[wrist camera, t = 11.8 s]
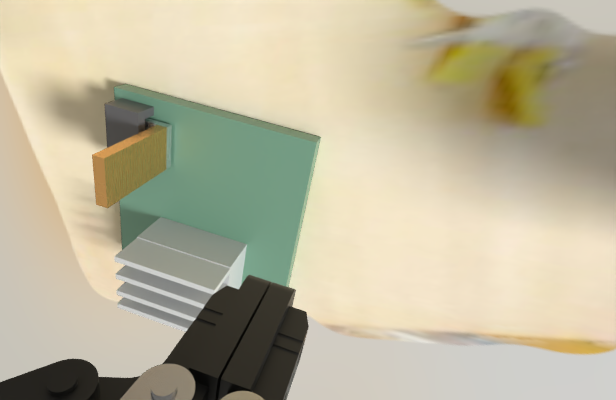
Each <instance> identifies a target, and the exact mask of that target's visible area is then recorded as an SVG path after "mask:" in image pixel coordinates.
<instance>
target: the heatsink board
mask: <svg viewBox="0 0 616 400" xmlns="http://www.w3.org/2000/svg"><path fill="white" fill-rule="evenodd" d="M114 95H115V100H114V101H111V102H108V103H105V117H106V133H107V148H108V147H110V146H112V145H115V144H117V143H119V142H121V141H123V140H125V139H127V138H130V137H132V136H134V135H136V134H138V133H140V132H142V131H145V119H146V118H149V119H152V120H156V121H159V122H163V123H166V124H170V125H172V139H171V167H169V168H168V169H166V170H165V171H163V172H162V173H160V174H159V175H157V176H156V177H154V178H153V179H151V180H150V181H148V182H146V183H145V184H143V185H142V186H140V187H139V188H137V189H136V190H134V191H133V192H131V193H130V194H128V195H127V196H125V197H124V198H122V199H121V200H120V216H121V236H122V251H121V252H119V253H118V254H117V255H116V256H115V262H118V263H121V264H124V265H125V266H124V267H123V268H122V269H121V270H119V271H118V272H117V273H116V279H119V280H121V281H124V282H125V283H124V284H123V285H122V286H121V287H120V288H119V289H118V290H117V295H119V296H122V297H123V298H122V299H121V300H120V301H119V302H118V308H120V309H123V310H125V311H128V312H131V313H134V314H137V315H140V316H142V317H145V318H148V319H151V320H153V321H156V322H159V323H162V324H165V325H168V326H170V327H173V328H176V329H179V330H181V331H185V332H186V331H187V330H188V328H189V327H190V326H191V324H192V323H193V321H194V320H196V317H197V316H198V314H199V313H200V312H201V310H203V308H204V306H205V304H206V303H207V302H208V300H209V299H210V297H211V296H212V295H213V294H214V293H216V292H217V291H219V290H220V289H222V288H224V287H225V286H230V287H233V288H236V289H239V288H240V286H241V285H242V283H243V282H244V280H245V279H246V277H247V276H248V275H252V276H255V277H258V278H261V279H264V280H267V281H271V282H272V283H273V282H274V283H277V284H280V285H283V286H286V287H289V282H290V277H291V273H292V268H293V264H294V259H295V254H296V250H297V245H298V240H299V236H300V231H301V227H302V222H303V217H304V213H305V208H306V203H307V199H308V194H309V190H310V185H311V180H312V176H313V171H314V167H315V162H316V157H317V153H318V148H319V143H320V139H321V137H319V136H315V135H311V134H308V133H304V132H300V131H296V130H293V129H289V128H285V127H282V126H278V125H274V124H271V123H267V122H263V121H260V120H256V119H252V118H249V117H245V116H241V115H238V114H234V113H230V112H227V111H223V110H219V109H216V108H212V107H208V106H205V105H201V104H197V103H194V102H190V101H186V100H183V99H179V98H175V97H172V96H168V95H164V94H161V93H157V92H153V91H150V90H146V89H142V88H139V87H135V86H131V85H128V84H123V85H120V86H116V87H114Z"/></svg>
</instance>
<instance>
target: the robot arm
mask: <svg viewBox="0 0 616 400" xmlns="http://www.w3.org/2000/svg"><path fill="white" fill-rule="evenodd" d="M295 291H296V290H295V289H292V288H289V287H286V286H283V285H280V284H277V283H274V282H273V283H272V282H271V281H267V280H264V279H261V278H258V277H255V276H252V275H248V276H247V277H246V279H245V280H244V282H243V283H242V285H241V286H240V288H239V289H236V288H233V287H230V286H225V287H224V288H222V289H220V290H219V291H217V292H216V293H214V294H213V295H212V296H211V297H210V299H209V300H208V302H207V303H206V304H205V306H204V308H203V310H201V312H200V313H199V314H198V316H197V317H196V320H194V321H193V323H192V324H191V326H190V327H189V328H188V330H187V331H186V333H185V334H184V335H183V337H182V338H181V340H180V341H179V343H178V344H177V345H176V347H175V348H174V349H173V351H172V352H171V354H170V355H169V356H168V358H167V359H166V360H165V362H164V363H163V364H161V365H157V366H155V367H152V368H151V369H149V370H147V371H146V372H144V373H143V374H142V375H141V376H139V377H134V378H112V377H98V372H97V370H96V368H95V367H94V366H93V365H92V364H91V363H90V362H87V361H85V360H81V359H67V360H62V361H59V362H56V363H53V364H50V365H48V366H45V367H42V368H39V369H36V370H34V371H31V372H28V373H25V374H22V375H20V376H17V377H14V378H11V379H8V380H5V381H3V382H0V400H286V399H287V396H288V393H289V390H290V387H291V384H292V381H293V378H294V375H295V372H296V369H297V366H298V363H299V360H300V357H301V353H302V349H303V345H304V342H305V338H306V334H307V330H308V321H307V314H306V312H305V311H302V310H299V309H296V308H293V307H292V305H293V300H294V296H295Z"/></svg>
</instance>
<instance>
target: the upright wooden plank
mask: <svg viewBox="0 0 616 400" xmlns="http://www.w3.org/2000/svg"><path fill="white" fill-rule="evenodd" d="M171 139H172V125H170V124H166V123H163V122H159V121H156V120H152V119H149V118H146V119H145V131H142V132H140V133H138V134H136V135H134V136H132V137H130V138H127V139H125V140H123V141H121V142H119V143H117V144H115V145H112V146H110V147H108V148H106V149H104V150H102V151H100V152H97V153H95V154H93V155H92V159H93V171H94V183H95V195H96V205H99V206H102V207H105V208H109V207H110V206H112V205H113V204H115V203H116V202H118V201H119V200H121V199H122V198H124V197H125V196H127V195H128V194H130V193H131V192H133V191H134V190H136V189H137V188H139V187H140V186H142V185H143V184H145V183H146V182H148V181H150V180H151V179H153V178H154V177H156V176H157V175H159V174H160V173H162V172H163V171H165V170H166V169H168V168H169V167H171Z"/></svg>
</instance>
